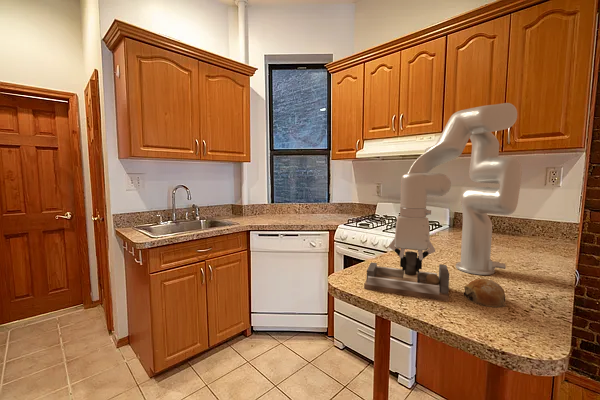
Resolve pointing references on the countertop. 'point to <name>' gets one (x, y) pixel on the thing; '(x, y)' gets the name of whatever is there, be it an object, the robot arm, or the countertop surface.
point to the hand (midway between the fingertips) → (410, 269)
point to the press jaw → (411, 267)
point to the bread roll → (485, 293)
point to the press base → (394, 282)
